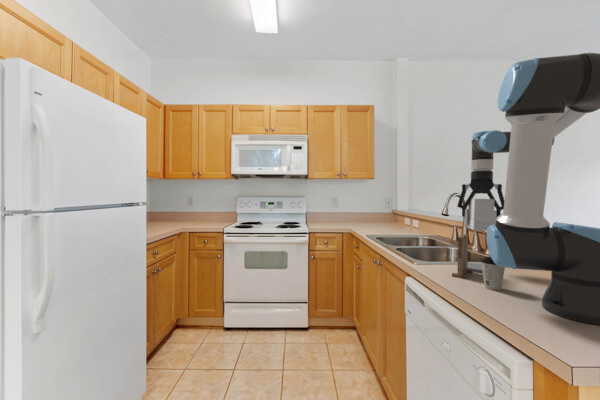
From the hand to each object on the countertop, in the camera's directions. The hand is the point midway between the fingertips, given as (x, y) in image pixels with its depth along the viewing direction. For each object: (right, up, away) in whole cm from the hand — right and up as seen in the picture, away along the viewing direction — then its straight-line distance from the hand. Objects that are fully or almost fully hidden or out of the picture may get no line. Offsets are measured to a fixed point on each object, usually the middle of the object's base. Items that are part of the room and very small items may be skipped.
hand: (480, 225), depth 118 cm
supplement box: (0, -2, 0) cm, 2 cm away
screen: (-11, -18, -6) cm, 22 cm away
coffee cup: (-10, -19, -23) cm, 31 cm away
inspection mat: (0, -18, 0) cm, 18 cm away
